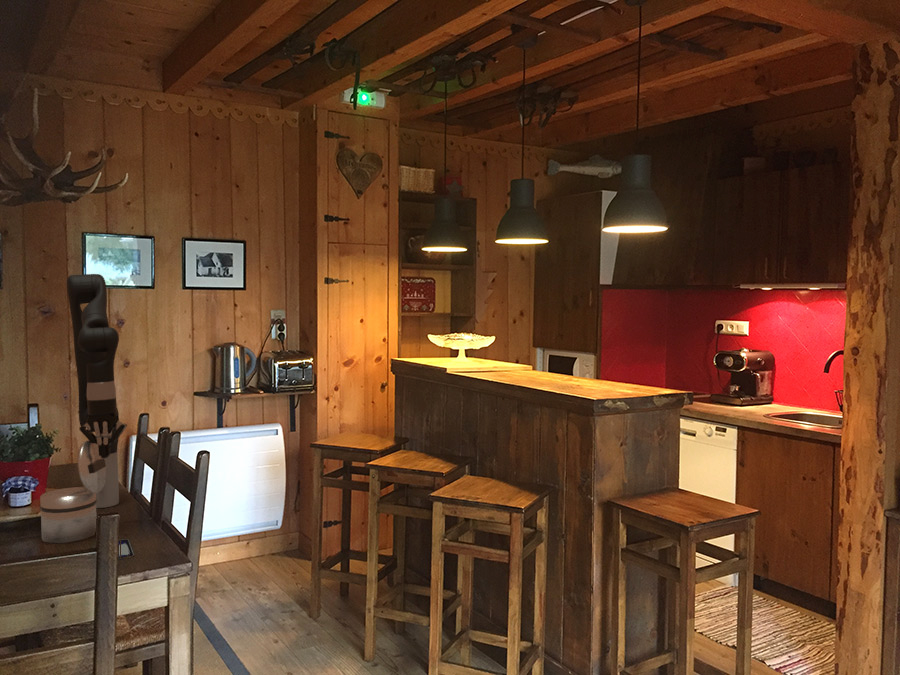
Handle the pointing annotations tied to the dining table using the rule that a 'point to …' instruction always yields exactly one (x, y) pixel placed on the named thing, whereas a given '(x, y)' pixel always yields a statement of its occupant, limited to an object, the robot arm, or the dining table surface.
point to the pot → (68, 515)
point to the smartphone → (125, 548)
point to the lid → (91, 467)
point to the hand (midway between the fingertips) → (104, 457)
